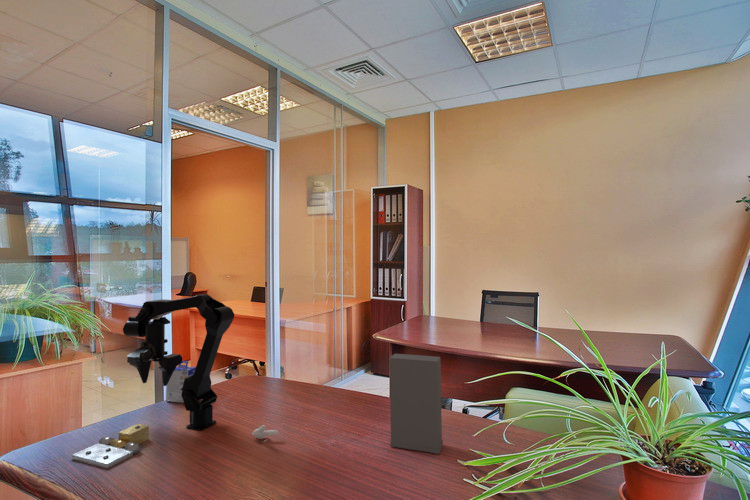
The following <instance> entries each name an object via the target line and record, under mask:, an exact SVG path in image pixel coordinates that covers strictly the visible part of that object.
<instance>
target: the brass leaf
mask: <svg viewBox="0 0 750 500" xmlns="http://www.w3.org/2000/svg"><path fill="white" fill-rule="evenodd" d="M149 429H150V426H149V425H146V424H141V423H136V424H135V425H132V426H130V427H128V428H125V429H123V430H121V431H119V432H118V439H117V438H114V439H115V440H113V441H112V442H111V444H110V446H114V447H118V448H122V449H124V447H125V445H126V444H127V443H129V442H132V443H136V444H140V445H141V444H142V443H144V442H145V441H148V440H150V430H149Z"/></svg>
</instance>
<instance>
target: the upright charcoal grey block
mask: <svg viewBox="0 0 750 500" xmlns="http://www.w3.org/2000/svg"><path fill="white" fill-rule="evenodd" d="M441 365H442V364H441V356H433V355H432V356H431V355H421V354H420V355H419V354H408V353H407V354H406V353H394V354H392V355H391V356H390V357H389V394H390V396H389V397H390V401H389V402H390V403H389V404H390V407H389V408H390V441H389V442H390V443H389V445H390V447H391V448H399V449H407V450H410V451H412V450H413V451H419V452H426V453H431V454H434V455H439V454H440V453H441V451H442V447H443V444H444V439H443V436H442V435H443V432H442V431H443V430H442V427H443V426H442V425H443V424H442V379H441V378H442V375H441V374H442V371H441V370H442V369H441V367H442V366H441Z"/></svg>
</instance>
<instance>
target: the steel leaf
mask: <svg viewBox="0 0 750 500" xmlns="http://www.w3.org/2000/svg"><path fill="white" fill-rule="evenodd" d="M115 439H116V438H114V437H113V438H112V437H109V436H102V437H101V438H100V439H99V440H98V443H95V444H94V445H91V446H88V447H87V448H84V449H82V450H79V451H77V452H75V453H73V454H71V460H73V461H78V462H81V463H85V464H89V465H92V466H96V467H99V468H103V469H105V470H106V469H109V468H111V467H113V466H116V465H117V464H119V463H121V462H123V461H125V460H128V459H130V458H132V457H133V456H134V455H136V454H137V455H138V453H140V452H141V450H142V445H141V443H140V444H136V443H132V442H129V443H127V444H126V445H125V447H124V449H122V448H118V447H114V446H110V444H111V442H112V441H113V440H115Z"/></svg>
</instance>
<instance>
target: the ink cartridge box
mask: <svg viewBox="0 0 750 500" xmlns="http://www.w3.org/2000/svg"><path fill="white" fill-rule="evenodd" d="M188 365H189V360H188V361H187V360H182V363H180V364H179V365H178V366H177V367H176V369H175V370H174V372H173V374H172V376H171V378H170V380H169V382H168V384H167V385H166V386H165V388H166V389H165V390H166V393H165V402H169V401H168V400H170V402H172V403H183V404H184V401H183V398H182V396H181V394H182V391H181V389H182V387H183V383H184V380H185V378H187V377H190V376H192V375H193V374H194V372H195V368H196V366H188ZM179 396H180V397H179Z"/></svg>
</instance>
